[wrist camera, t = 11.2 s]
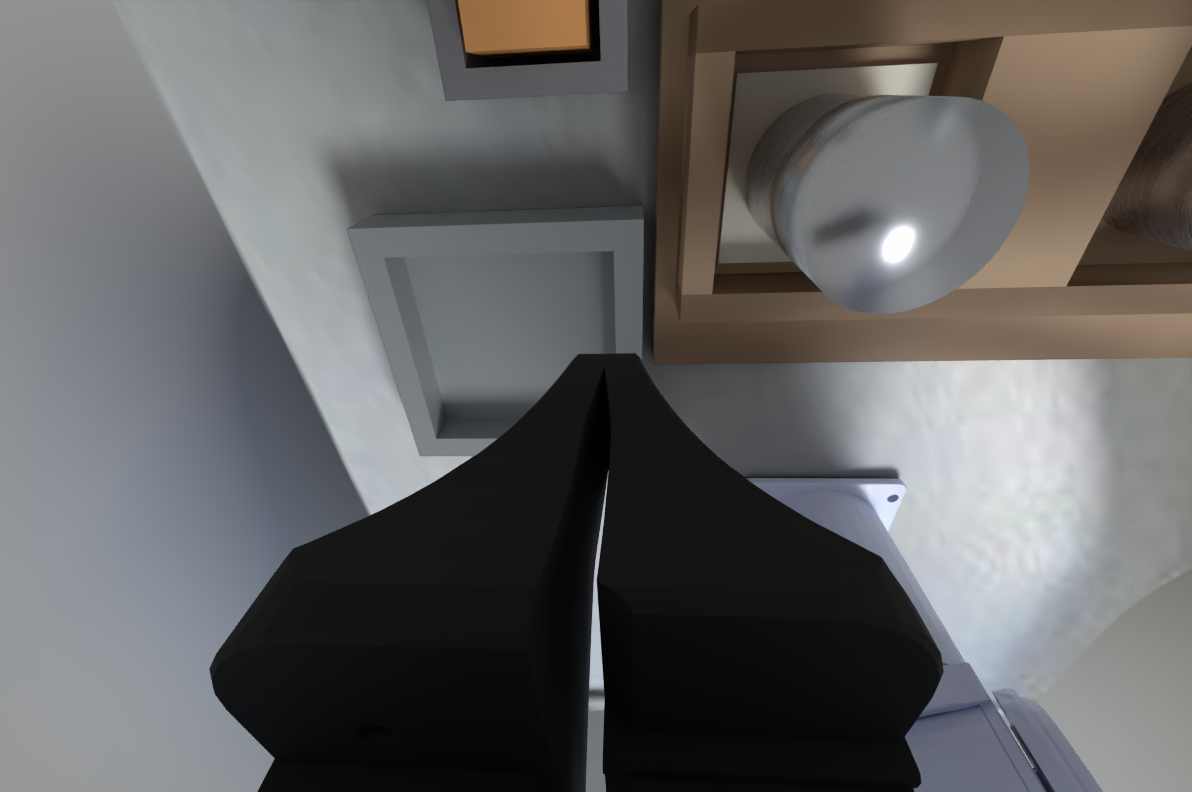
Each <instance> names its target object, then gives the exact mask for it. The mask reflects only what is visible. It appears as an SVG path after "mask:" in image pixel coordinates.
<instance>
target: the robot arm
mask: <svg viewBox="0 0 1192 792" xmlns="http://www.w3.org/2000/svg"><path fill="white" fill-rule="evenodd" d="M608 471H609V473H608ZM607 475H608V486H607V496H606V507H605V517H604V526H603V535H602V543H601V552H600V560H599V568H598V575H597V589H598V604H599V619H600V634H601V649H602V664H603V679H604V693H605V708H604V739H603V774H605V780H606V792H1103V791H1102V790H1101V788H1100V787H1099V785H1098V784H1097V782H1096V781H1095V779H1094V778H1093V776H1092V775H1091V773H1090V772H1089V770H1088V769H1087V768H1086V766H1085V765H1084V763H1083V762H1082V761H1081V759H1080V757H1079V756H1078V755H1077V753H1076V752H1075V750H1074V749H1073V747H1072V746H1071V745H1070V743H1069V742H1068V741H1067V739H1066V738H1065V736H1064V735H1063V734H1062V732H1061V731H1060V729H1059V728H1058V727H1057V725H1056V724H1055V723H1054V721H1053V720H1052V719H1051V717H1050V716H1049V715H1048V714H1047V713H1046V711H1045V710H1044V709H1043V708H1042V707H1041V706H1040V705H1039V704H1037V703H1035V702H1033V701H1031V700H1029V699H1027V698H1025V697H1019V695H1018V694H1017V693H1016V692H1015V691H1014V690H1012V689H1010V688H1004V689H1001V690H998V691H995V692H992V693H993V694H994V696H995V698H996V700H997V702H998V704H999V705H1000V707H1001V709H1002V710H1003V712H1004V714H1005V716H1006V717H1007V719H1008V721H1009V723H1010V724H1011V725H1010V727H1011V729H1012V731H1013V733H1014V734H1015V736H1016V738H1017V740H1018V741H1019V743H1020V745H1021V746H1022V748H1023V750H1024V752H1025V753H1026V755H1027V757H1028V759H1029V760H1030V761H1031V764H1032V765H1033V767H1034V768H1032V767H1031V765H1030V763H1029V762H1028V760H1027V758H1026V757H1025V755H1024V753H1023V752H1022V750H1021V748H1020V747H1019V745H1018V743H1017V742H1016V740H1015V738H1014V737H1013V735H1012V733H1011V732H1010V730H1009V729H1008V727H1007V725H1006V724H1005V722H1004V720H1003V719H1002V717H1001V715H1000V714H999V712H998V711H997V709H996V707H995V706H994V704H993V702H992V701H991V699H990V697H989V696H988V694H987V692H986V691H985V689H984V687H983V686H982V684H981V682H980V681H979V679H978V677H977V675H976V674H975V672H974V670H973V669H972V667H971V665H970V664H969V663H967V662H965V661H964V659H963V658H962V656H961V654H960V652H959V651H958V649H957V647H956V646H955V644H954V642H953V641H952V639H951V637H950V636H949V634H948V632H947V631H946V629H945V627H944V626H943V624H942V622H941V620H940V619H939V617H938V615H937V614H936V612H935V610H934V609H933V607H932V605H931V604H930V602H929V600H928V599H927V597H926V595H925V593H924V592H923V590H922V588H921V587H920V585H919V583H918V582H917V580H916V578H915V577H914V575H913V573H912V572H911V570H910V568H909V566H908V565H907V563H906V561H905V560H904V558H903V556H902V555H901V553H900V551H899V550H898V548H897V546H896V545H895V543H894V541H893V539H892V538H891V536H890V534H889V533H888V531H889V529H890V526H891V524H892V522H893V520H894V517H895V515H896V513H897V510H898V508H899V506H900V503H901V501H902V499H903V497H904V494H905V492H906V486H905V484H904V483H903V481H902V480H900V479H850V478H747V479H746V478H745V477H744V476H742V475H741V474H740V473H738V472H737V471H736V470H734V469H733V468H732V467H730V466H729V465H727V464H726V463H725V462H724V461H723V460H721V459H720V458H719V457H718V456H717V455H716V454H714V453H713V452H712V451H711V450H710V449H709V448H708V447H707V446H706V445H705V444H704V443H703V442H702V441H701V440H700V439H699V438H698V437H697V436H696V435H695V434H694V433H693V432H692V431H691V430H690V429H689V428H688V427H687V426H686V425H685V423H684V422H683V421H682V420H681V419H680V418H679V416H678V415H677V414H676V413H675V412H674V410H673V409H672V408H671V407H670V405H669V404H668V403H667V401H666V400H665V399H664V397H663V396H662V395H661V393H660V392H659V390H658V389H657V387H656V386H655V384H654V383H653V381H652V380H651V378H650V376H649V375H648V373H647V371H646V369H645V368H644V366H643V363H642V361H641V358H640V357H639V356H638V355H637V354H636V353H612V354H578V355H577V356H576V357H575V358H574V359H573V360H572V361H571V362H570V364H569V365H568V366H567V368H566V369H565V370H564V371H563V373H562V374H561V375H560V376H559V378H558V379H557V380H556V381H555V382H554V384H553V385H552V386H551V387H550V388H549V389H548V390H547V392H546V393H545V394H544V395H543V396H542V397H541V398H540V399H539V401H538V402H537V403H536V404H535V405H534V406H533V407H532V408H531V409H530V410H529V411H528V412H527V413H526V414H525V415H524V416H523V417H522V418H520V419H519V420H518V421H517V422H516V423H515V424H514V425H513V426H512V427H511V428H510V429H509V430H508V431H506V432H505V433H504V434H503V435H502V436H500V437H499V438H498V439H497V440H495V441H494V442H493V443H491V444H490V445H489V446H488V447H486V448H485V449H484V450H482V451H481V452H479V453H478V454H477V455H475V456H474V457H472V458H471V459H469V460H468V461H466V462H464V463H463V464H461V465H460V466H458V467H457V468H455V469H454V470H452V471H451V472H449V473H447V474H446V475H444V476H443V477H441V478H440V479H438V480H437V481H435V482H433V483H431V484H430V485H428V486H426V487H424V488H423V489H421V490H419V491H417V492H415V493H414V494H412V495H410V496H408V497H406V498H404V499H402V500H400V501H398V502H396V503H394V504H393V505H391V506H389V507H387V508H385V509H383V510H381V511H379V512H377V513H374V514H372V515H370V516H368V517H366V518H364V519H362V520H359V521H357V522H355V523H352V524H350V525H348V526H346V527H343V528H341V529H339V530H336V531H334V532H332V533H330V534H327V535H325V536H323V537H321V538H318V539H316V540H314V541H311V542H309V543H307V544H304V545H301V546H299V547H296V548H294V549H293V550H292V551H291V552H290V553H289V555H288V556H287V557H286V558H285V560H284V561H283V563H282V564H281V565H280V567H279V568H278V569H277V571H276V572H275V573H274V575H273V576H272V578H271V579H270V580H269V582H268V583H267V584H266V586H265V587H264V589H263V590H262V591H261V593H260V594H259V596H258V597H257V598H256V600H255V601H254V602H253V604H252V605H251V607H250V608H249V609H248V611H247V612H246V613H245V615H244V616H243V618H242V619H241V620H240V622H239V623H238V625H237V626H236V627H235V629H234V630H233V632H232V633H231V634H230V636H229V637H228V638H227V640H226V641H225V643H224V644H223V645H222V647H221V648H220V649H219V651H218V652H217V654H216V656H215V658H214V660H213V662H212V665H211V667H210V674H211V679H212V684H213V688H214V692H215V695H216V696H217V697H218V699H219V700H220V702H221V703H222V704H223V706H224V707H225V708H226V710H227V711H228V712H229V713H230V714H231V715H232V716H233V717H234V718H235V719H236V720H237V721H238V722H239V723H240V724H241V725H242V726H243V727H244V728H245V729H246V730H247V731H248V732H249V733H250V734H251V735H252V736H253V737H254V738H255V739H256V740H257V741H258V742H259V743H260V744H261V745H262V746H263V747H264V748H265V749H266V750H267V751H268V752H269V753H270V754H271V755H272V756H273V757H274V758H275V759H274V761H273V763H272V765H271V767H270V769H269V771H268V773H267V775H266V777H265V778H264V780H263V783H262V784H261V786H260V788H259V790H258V792H586V759H587V729H588V701H589V674H590V649H591V625H592V603H593V581H594V569H595V559H596V552H597V545H598V538H599V531H600V524H601V517H602V510H603V503H604V497H605V489H606V482H607ZM891 495H892V496H891Z"/></svg>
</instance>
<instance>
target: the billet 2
mask: <svg viewBox="0 0 1192 792" xmlns="http://www.w3.org/2000/svg"><path fill="white" fill-rule="evenodd" d="M1102 219H1103V220H1104V221H1105V222H1106V223H1107V224H1108V225H1110V226H1111V227H1113V228H1115V229H1117V230H1120V231H1123V232H1127V233H1130V234H1134V235H1137V236H1141V237H1144V238H1148V239H1151V240H1155V241H1158V242H1162V243H1165V244H1168V245H1172V246H1175V247H1179V248H1182V249H1186V250H1189V251H1192V83H1190V84H1188V85H1186V86H1184V87H1181V88H1180V89H1178V90H1176V91H1174V92H1172V93H1171V94H1169V95H1167V96H1166V97H1165V98H1164V100H1163V101H1162V103H1161V105H1160V107H1159V109H1158V111H1157V113H1156V115H1155V117H1154V119H1153V121H1152V123H1151V125H1150V126H1149V128H1148V130H1147V132H1146V134H1145V136H1144V138H1143V140H1142V142H1141V144H1140V146H1139V148H1138V149H1137V151H1136V153H1135V155H1134V157H1133V159H1132V161H1131V163H1130V165H1129V167H1128V169H1127V171H1126V173H1125V174H1124V176H1123V178H1122V180H1121V182H1120V184H1119V186H1118V188H1117V190H1116V192H1115V194H1114V196H1113V197H1112V199H1111V201H1110V203H1109V205H1108V207H1107V209H1106V211H1105V213H1104V215H1103V217H1102Z"/></svg>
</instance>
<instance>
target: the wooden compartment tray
mask: <svg viewBox="0 0 1192 792" xmlns="http://www.w3.org/2000/svg"><path fill="white" fill-rule="evenodd" d="M1190 83H1192V0H661V18H660V58H659V98H658V138H657V178H656V218H655V258H654V299H653V339H652V356H653V364H720V363H801V362H882V361H963V360H1044V359H1125V358H1192V251H1189V250H1186V249H1182V248H1179V247H1175V246H1172V245H1168V244H1165V243H1162V242H1158V241H1155V240H1151V239H1148V238H1144V237H1141V236H1137V235H1134V234H1130V233H1127V232H1123V231H1120V230H1117V229H1115V228H1113V227H1111V226H1110V225H1108V224H1107V223H1106V222H1105V221H1104V220H1103V219H1102V217H1103V215H1104V213H1105V211H1106V209H1107V207H1108V205H1109V203H1110V201H1111V199H1112V197H1113V196H1114V194H1115V192H1116V190H1117V188H1118V186H1119V184H1120V182H1121V180H1122V178H1123V176H1124V174H1125V173H1126V171H1127V169H1128V167H1129V165H1130V163H1131V161H1132V159H1133V157H1134V155H1135V153H1136V151H1137V149H1138V148H1139V146H1140V144H1141V142H1142V140H1143V138H1144V136H1145V134H1146V132H1147V130H1148V128H1149V126H1150V125H1151V123H1152V121H1153V119H1154V117H1155V115H1156V113H1157V111H1158V109H1159V107H1160V105H1161V103H1162V101H1163V100H1164V98H1165V97H1166V96H1167V95H1169V94H1171V93H1172V92H1174V91H1176V90H1178V89H1180V88H1181V87H1184V86H1186V85H1188V84H1190ZM824 94H873V95H913V96H953V97H968V98H972V99H977V100H981V101H984V102H986V103H988V104H991V105H993V106H995V107H997V108H998V109H999V110H1001V111H1002V112H1004V113H1005V114H1006V115H1007V116H1008V117H1009V118H1010V119H1011V120H1012V121H1013V122H1014V123H1015V124H1016V126H1017V127H1018V129H1019V131H1020V132H1021V134H1022V136H1023V138H1024V141H1025V144H1026V146H1027V151H1028V156H1029V169H1030V176H1029V184H1028V190H1027V194H1026V198H1025V202H1024V205H1023V208H1022V210H1021V213H1020V215H1019V218H1018V220H1017V222H1016V224H1015V225H1014V227H1013V229H1012V231H1011V233H1010V234H1009V236H1008V237H1007V239H1006V240H1005V242H1004V244H1003V245H1002V246H1001V248H1000V249H999V250H998V251H997V253H996V254H995V255H994V256H993V258H992V259H991V260H990V261H989V262H988V263H987V264H986V265H985V266H984V267H983V268H982V269H981V270H980V271H979V272H978V273H976V274H975V275H974V276H973V277H972V278H971V279H969V280H968V281H967V282H965V283H964V284H963V285H961V286H960V287H958V288H957V289H955V290H954V291H952V292H950V293H949V294H947V295H945V296H944V297H942V298H940V299H938V300H936V301H933V302H931V303H929V304H926V305H924V306H921V307H918V308H915V309H911V310H908V311H904V312H897V313H891V314H870V313H863V312H858V311H854V310H851V309H848V308H845V307H843V306H841V305H839V304H838V303H836V302H834V301H833V300H831V299H830V298H829V297H828V296H826V295H825V294H824V293H823V292H822V291H821V290H820V289H819V288H818V287H817V286H816V284H815V283H814V282H813V281H812V280H811V279H810V278H809V277H808V276H807V275H806V274H805V273H804V272H803V271H802V270H801V269H800V268H799V267H798V266H797V265H796V264H795V263H794V262H793V261H792V260H791V259H790V258H789V257H788V256H787V255H786V254H785V253H784V252H783V251H782V250H781V249H780V247H779V246H778V245H777V244H776V243H775V242H774V241H773V240H772V239H771V238H770V237H769V236H768V235H767V234H766V233H765V232H764V231H763V230H762V229H761V228H760V227H759V226H758V224H757V223H756V222H755V220H754V219H753V217H752V215H751V212H750V210H749V207H748V204H747V198H746V186H745V185H746V175H747V170H748V165H749V162H750V159H751V156H752V154H753V152H754V150H755V147H756V145H757V144H758V142H759V140H760V139H761V137H762V136H763V134H764V133H765V132H766V130H767V129H768V128H769V127H770V125H771V124H772V123H773V122H774V121H775V120H776V119H777V118H778V117H780V116H781V115H782V114H783V113H784V112H785V111H787V110H788V109H790V108H791V107H793V106H794V105H796V104H798V103H800V102H802V101H804V100H807V99H809V98H812V97H815V96H819V95H824Z"/></svg>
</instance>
